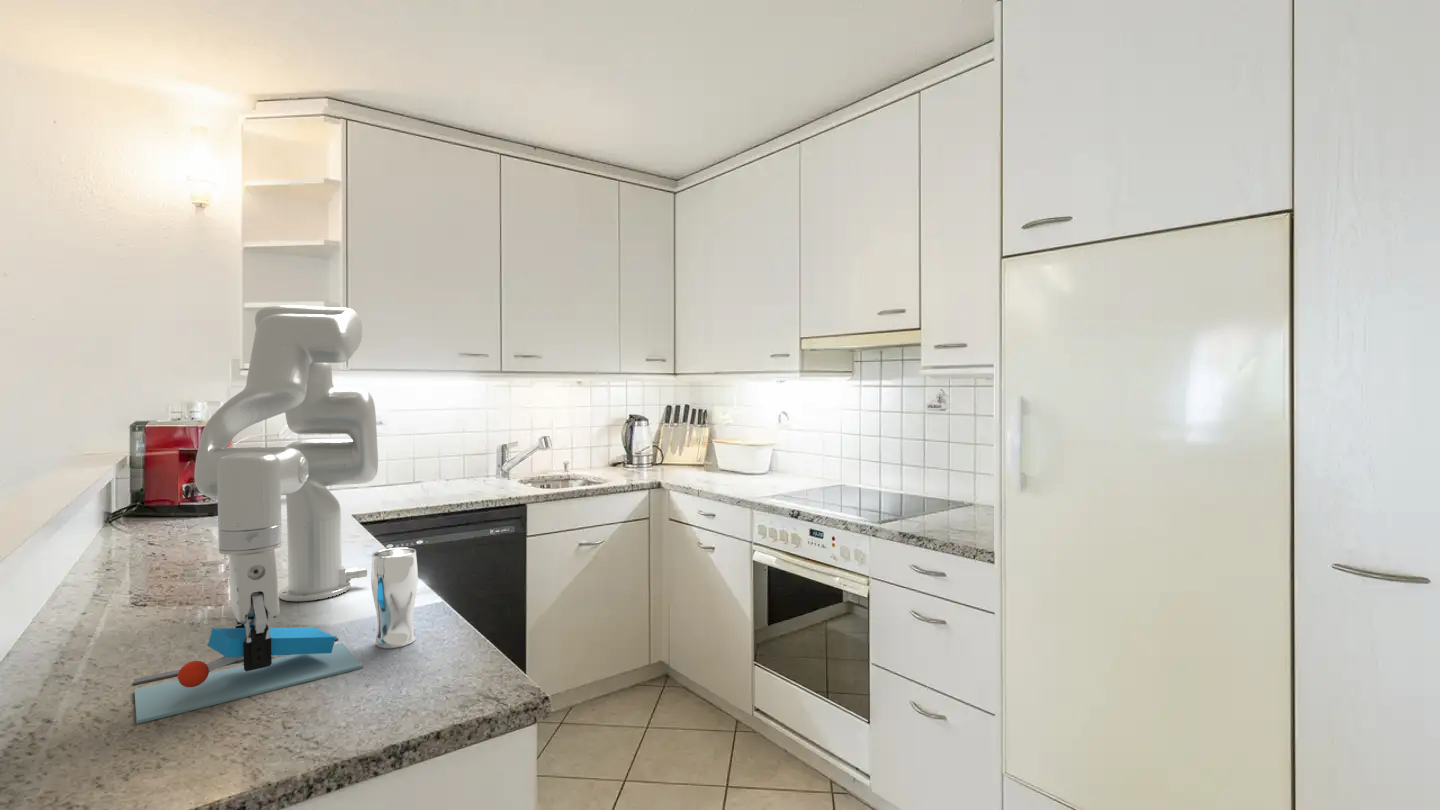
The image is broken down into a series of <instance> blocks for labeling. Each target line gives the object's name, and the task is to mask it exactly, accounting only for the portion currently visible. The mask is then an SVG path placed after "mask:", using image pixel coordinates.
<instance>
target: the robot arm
mask: <svg viewBox="0 0 1440 810" xmlns="http://www.w3.org/2000/svg"><path fill="white" fill-rule="evenodd" d="M254 322H255V332H254V338H253V343H252V349H251V354H250V361H249V365H248V372H247V378H246V382H245V383H246V384H245V387H244V388H243V390H241V391H240V392H238V393H237V394H236V395H234V396H232V397H231V398H229V400H227V401H226V402H225V403H224V404H223V405H221V407H219V408H218V409H217V410H216V411H215V412H214V413H213V415H212V416H211V417H210V418H209V419H208V421H207V422H206V424H205V425H204V427H203V429H202V432H201V435H200V438H199V445H198V450H197V452H196V453H197V454H196V457H195V464H194V476H193V477H194V482H195V487H196V488H197V490H198V491H199V492H200V493H201V494H202V495H203V496H206V497H208V498H215V499H217V523H218V525H217V526H218V527H217V528H218V529H217V531H218V532H217V533H218V534H217V535H218V554H220V555H226V556H228V573H229V575H228V576H229V578H228V580H229V593H230V594H229V595H230V603H231V610H232V613H233V614H234V616H235V622H236V625H235V626H234V628H245V637H246V642H243V652H244V661H243V665H244V670H245V671H251V670H255V669H260V668H264V667H268V666H270V665H271V664H272V659H273V658H272V656H273V655H271V637H270V629H269V628H270V621H269V617H270V618H273V619H277V618H278V617H279V616H280V615H281V614H280V613H281V611H280V599H281V600H283V601H287V602H310V601H311V602H312V601H318V599H319V600H324V599H329V598H333V597H336V595H337V596H340V595H341V593H342V594H344V593H343V592H345V593H346V592H348V591H349V590H350V589H351V582H350V581H351V580H352V579H360V578H366V577H368V568H367V567H362V568H358V567H353V568H345V567H344V566H343V565H342V516H341V515H342V514H341V511H342V510H341V506H340V502H339V500H338V499H337V498H336V496H335V495H334V494H333V493H332V492H331V491H330V490H329V489H328V487H330V486H338V485H339V486H344V485H345V486H346V485H361V484H367V483H371V482H372V481H374V479H375V478H376V477H377V474H378V470H379V452H378V435H377V433H378V432H377V414H376V406H375V401H374V398H373V396H372V395H371V393H370V392H369V391H368V390H366V389H364V388H358V387H335V386H334V383H333V373H332V370H333V369H332V363H333V364H335V363H337V364H338V363H339V364H341V363H345V362H347V361H349V360H350V359H351V358H352V356H353V355H354V353H356V351H357V350H358V348H359V346H360V345H361V341H362V337H363V324H362V321H361V318H360V316H359V314H358V313H357V311H355V310H354V309H352V308H348V307H332V306H331V307H330V306H329V307H328V306H310V305H286V304H285V305H283V304H282V305H270V306H265V307H263V308H261V309H259V310H258V311H257V312H256V314H255V318H254ZM284 413H285V420H286V424H287V427H288V429H289V430H290V431H291V432H292V433H295V434H298V435H305V436H309V435H310V436H311V435H312V436H315V435H316V436H318V435H319V436H322V435H323V436H326V435H329V436H330V435H346V436H347V435H348V436H349V437H350V438H334V439H333V438H322V439H321V438H319V439H318V438H316V439H313V438H312V439H302V440H296V441H293V442H290V443H289V444H288V445H286V446H268V447H267V446H266V447H261V446H257V447H255V446H253V447H252V446H251V447H250V446H249V447H228V446H229V445H230V442H231V441H232V440H233V439H234V438H236V436H237V435H238V434H239V433H241V432H242V431H244V430H245V429H247V428H249V427H251V426H253V425H255V424H258V423H260V422H263V421H265V420H268V419H270V418H273V417H276V416H278V415H281V414H284ZM281 496H285V500H286V503H285V504H286V528H287V529H286V530H287V531H286V535H287V536H286V537H287V539H286V540H287V586H285V587H283V588H281V589H280V591H279V581H278V580H279V579H278V565H277V558H276V557H277V556H276V551H275V550H276V549H279V548H280V547H282V545H283V541H282V539H283V538H282V500H281V499H282V497H281ZM347 590H348V591H347ZM339 594H340V595H339ZM332 596H333V597H332ZM328 597H329V598H328ZM250 628H251V629H250ZM250 630H251V631H250Z"/></svg>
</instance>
